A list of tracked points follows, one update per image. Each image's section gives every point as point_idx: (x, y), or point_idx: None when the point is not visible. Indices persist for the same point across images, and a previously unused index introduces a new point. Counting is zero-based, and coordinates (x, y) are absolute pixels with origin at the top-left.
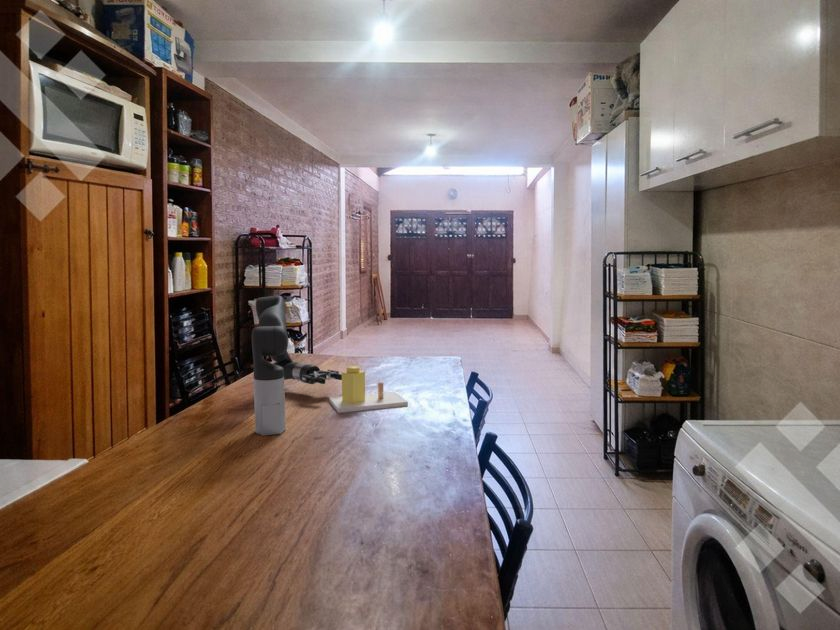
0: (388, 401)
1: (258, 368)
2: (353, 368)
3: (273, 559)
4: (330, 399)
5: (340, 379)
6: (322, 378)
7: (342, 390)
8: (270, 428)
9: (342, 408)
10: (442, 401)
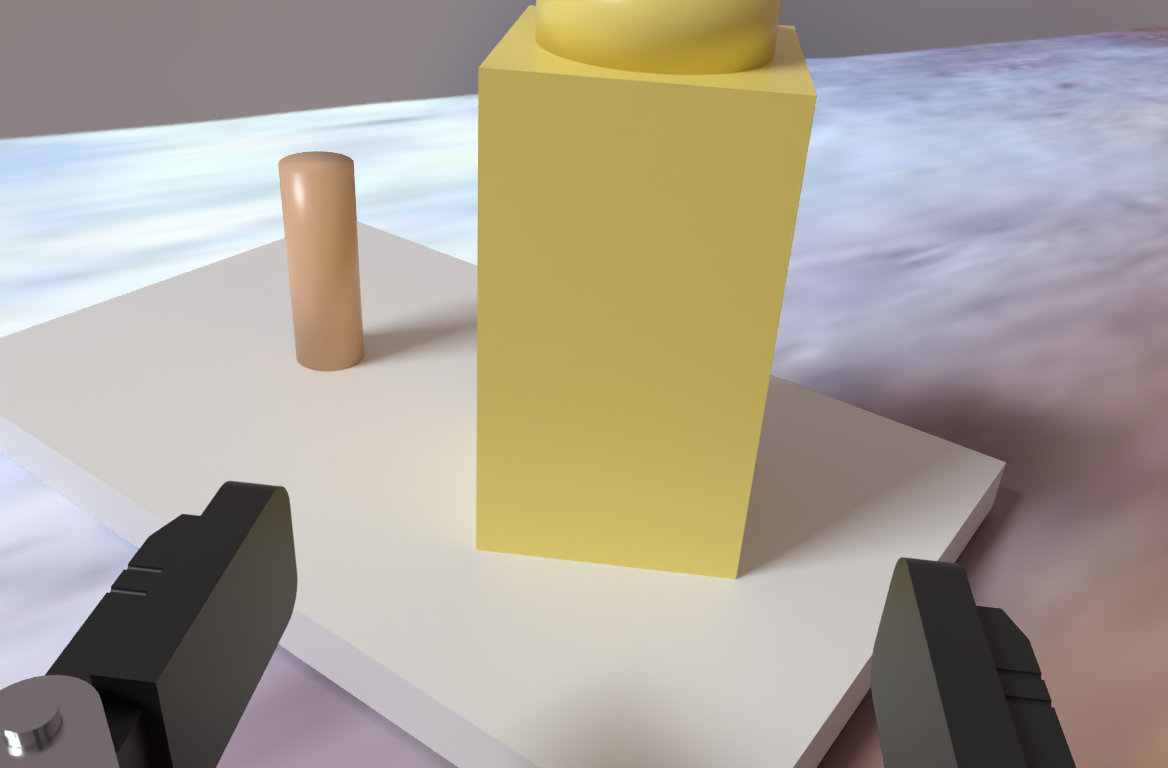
0: (416, 288)
1: None
2: None
3: None
4: None
5: (292, 599)
6: (970, 597)
7: (761, 418)
8: None
9: (951, 443)
10: (97, 179)
